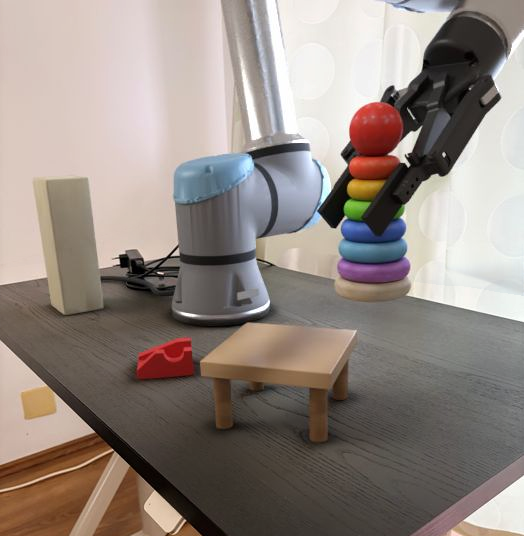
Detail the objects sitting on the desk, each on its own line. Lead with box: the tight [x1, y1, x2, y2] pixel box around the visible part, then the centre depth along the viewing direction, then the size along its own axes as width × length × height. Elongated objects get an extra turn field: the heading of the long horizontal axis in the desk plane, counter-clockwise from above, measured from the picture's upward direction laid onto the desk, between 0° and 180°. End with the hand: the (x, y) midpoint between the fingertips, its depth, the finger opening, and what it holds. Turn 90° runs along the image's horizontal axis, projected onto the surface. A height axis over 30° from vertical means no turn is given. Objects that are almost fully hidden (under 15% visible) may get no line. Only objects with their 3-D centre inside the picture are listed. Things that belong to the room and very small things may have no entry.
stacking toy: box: [333, 101, 412, 303], centre depth 59 cm, size 8×8×19 cm
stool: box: [199, 322, 358, 443], centre depth 57 cm, size 12×12×7 cm
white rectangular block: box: [31, 174, 104, 316], centre depth 95 cm, size 8×7×21 cm
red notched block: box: [136, 337, 195, 381], centre depth 69 cm, size 6×5×3 cm
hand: (347, 223), depth 57 cm, fingers closed on stacking toy, 6 cm apart
